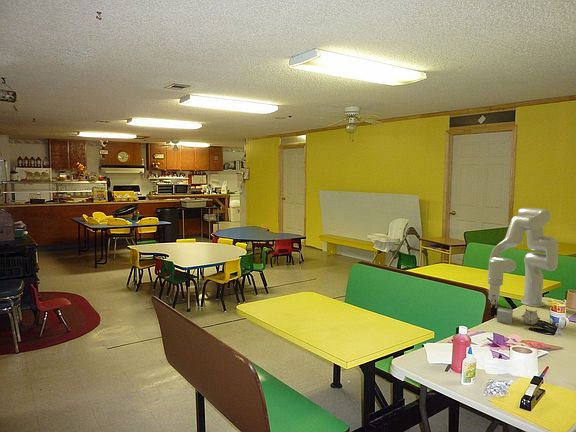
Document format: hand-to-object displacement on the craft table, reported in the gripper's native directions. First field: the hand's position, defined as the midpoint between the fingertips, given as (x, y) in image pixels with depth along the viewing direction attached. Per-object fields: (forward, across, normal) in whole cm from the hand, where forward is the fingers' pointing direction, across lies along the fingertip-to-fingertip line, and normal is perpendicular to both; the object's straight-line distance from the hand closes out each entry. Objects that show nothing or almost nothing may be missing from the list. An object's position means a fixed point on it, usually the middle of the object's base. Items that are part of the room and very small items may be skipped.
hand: (493, 312), depth 237 cm
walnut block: (+1, 0, 0) cm, 1 cm away
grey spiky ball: (+1, +10, +18) cm, 21 cm away
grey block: (+1, +10, +6) cm, 12 cm away
